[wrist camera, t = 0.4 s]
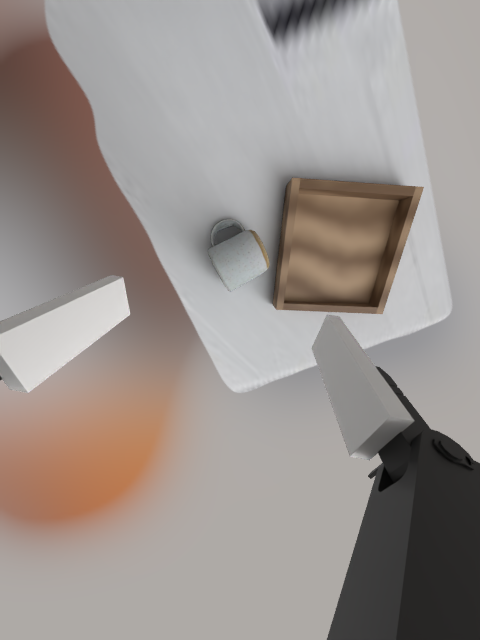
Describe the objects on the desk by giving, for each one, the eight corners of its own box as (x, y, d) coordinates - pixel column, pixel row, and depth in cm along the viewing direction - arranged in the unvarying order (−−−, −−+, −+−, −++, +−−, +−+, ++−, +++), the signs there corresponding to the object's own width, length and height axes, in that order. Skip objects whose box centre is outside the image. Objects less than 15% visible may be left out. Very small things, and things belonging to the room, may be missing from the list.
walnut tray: (286, 186, 30) (292, 177, 27) (403, 194, 31) (423, 187, 27) (272, 304, 37) (276, 309, 33) (369, 308, 37) (382, 313, 34)
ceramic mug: (268, 267, 34) (276, 270, 27) (230, 288, 35) (228, 296, 28) (241, 210, 31) (242, 196, 24) (200, 235, 32) (189, 229, 25)
